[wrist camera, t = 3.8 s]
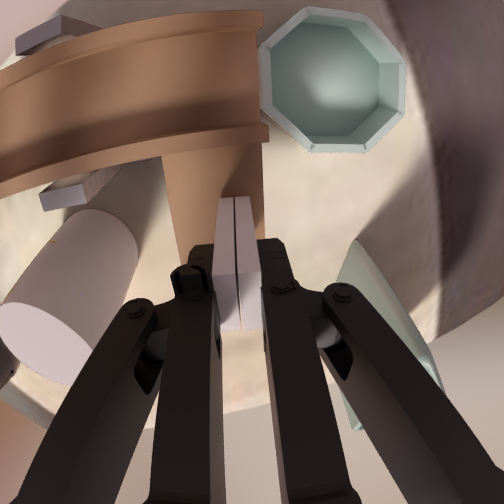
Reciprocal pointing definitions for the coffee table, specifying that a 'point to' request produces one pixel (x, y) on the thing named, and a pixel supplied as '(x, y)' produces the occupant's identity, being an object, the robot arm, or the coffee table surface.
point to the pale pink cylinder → (69, 295)
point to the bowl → (332, 80)
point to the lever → (145, 113)
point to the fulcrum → (83, 184)
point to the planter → (383, 311)
